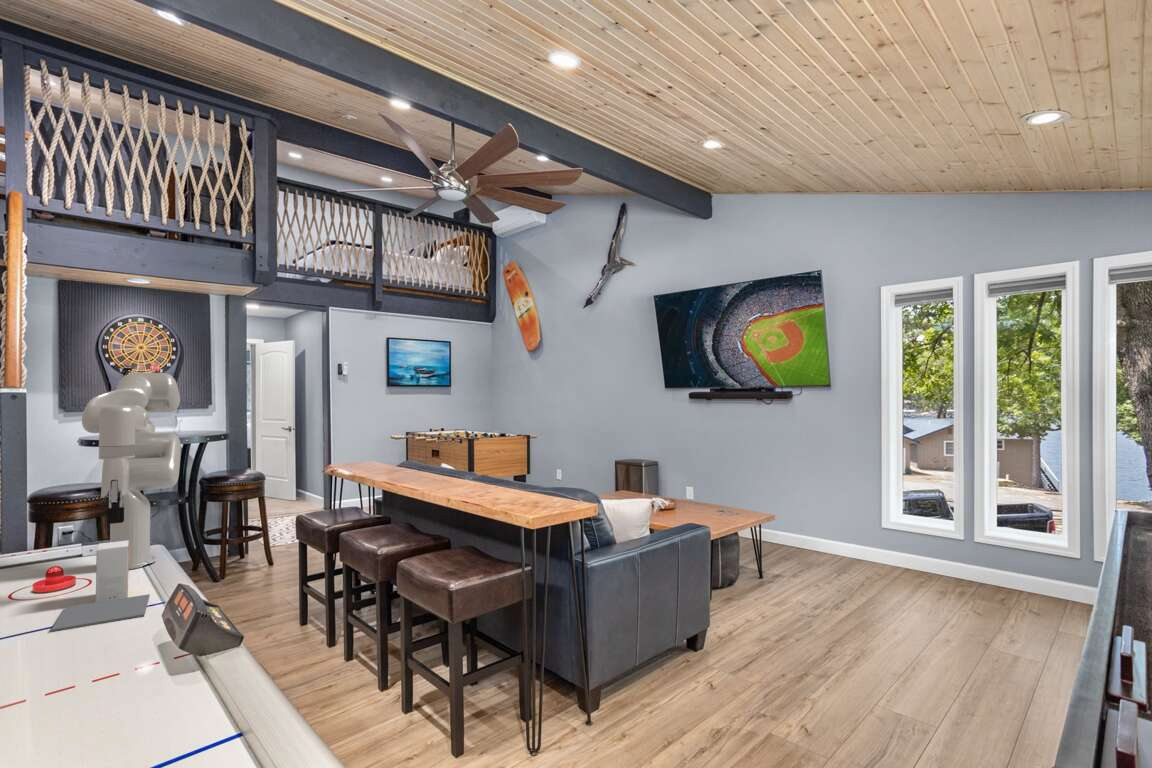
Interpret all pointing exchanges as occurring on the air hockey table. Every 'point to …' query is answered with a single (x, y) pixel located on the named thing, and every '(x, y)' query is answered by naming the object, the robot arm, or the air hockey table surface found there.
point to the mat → (101, 612)
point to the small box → (112, 570)
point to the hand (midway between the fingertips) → (116, 522)
